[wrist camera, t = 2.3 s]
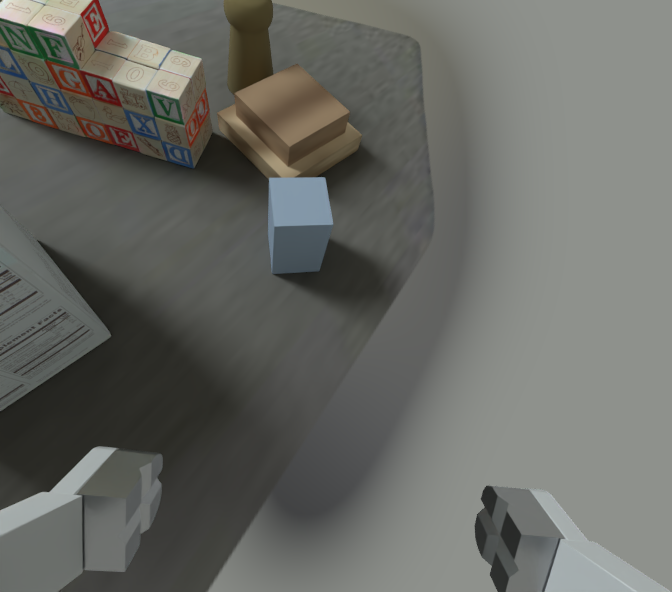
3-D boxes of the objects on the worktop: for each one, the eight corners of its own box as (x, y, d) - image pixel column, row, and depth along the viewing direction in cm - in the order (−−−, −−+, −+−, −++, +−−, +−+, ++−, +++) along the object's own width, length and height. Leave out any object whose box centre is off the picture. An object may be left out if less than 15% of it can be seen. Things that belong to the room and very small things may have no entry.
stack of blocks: (214, 132, 46) (198, 26, 34) (195, 171, 43) (171, 70, 32) (33, 76, 44) (-44, -53, 33) (2, 113, 42) (-94, -13, 30)
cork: (261, 108, 48) (261, 17, 38) (218, 88, 48) (206, -8, 38) (282, 80, 51) (287, -12, 41) (241, 61, 51) (235, -35, 41)
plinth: (219, 129, 46) (214, 89, 41) (294, 91, 50) (298, 51, 45) (285, 196, 44) (288, 162, 39) (357, 150, 48) (368, 114, 43)
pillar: (272, 274, 40) (274, 226, 31) (268, 232, 41) (269, 177, 33) (319, 271, 41) (333, 224, 32) (313, 231, 42) (325, 177, 34)
